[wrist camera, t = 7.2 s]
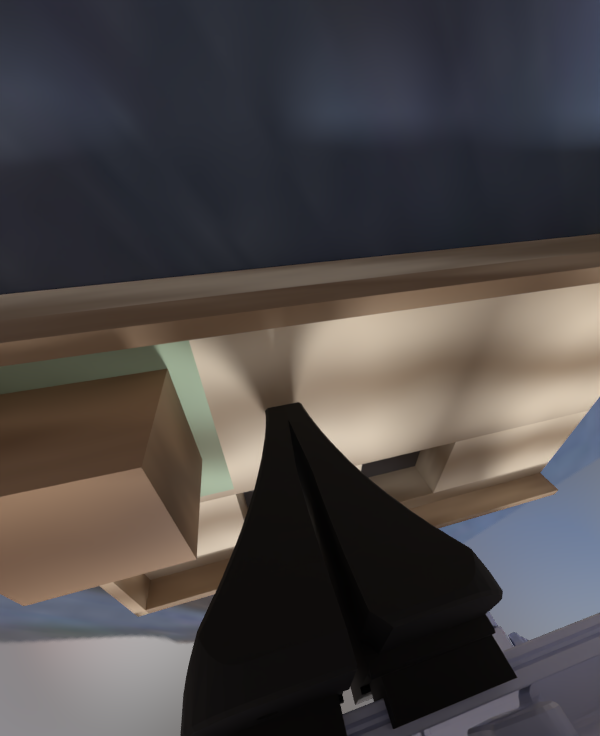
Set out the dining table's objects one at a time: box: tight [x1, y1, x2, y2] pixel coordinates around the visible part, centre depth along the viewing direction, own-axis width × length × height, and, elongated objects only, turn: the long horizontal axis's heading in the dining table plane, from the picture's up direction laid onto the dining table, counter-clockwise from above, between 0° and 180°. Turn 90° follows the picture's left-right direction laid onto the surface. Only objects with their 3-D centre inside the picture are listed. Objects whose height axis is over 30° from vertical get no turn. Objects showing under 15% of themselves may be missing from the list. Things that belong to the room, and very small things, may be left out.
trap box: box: [0, 234, 600, 617], centre depth 15 cm, size 18×30×4 cm, turn 93°
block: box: [0, 369, 202, 606], centre depth 9 cm, size 5×5×4 cm
